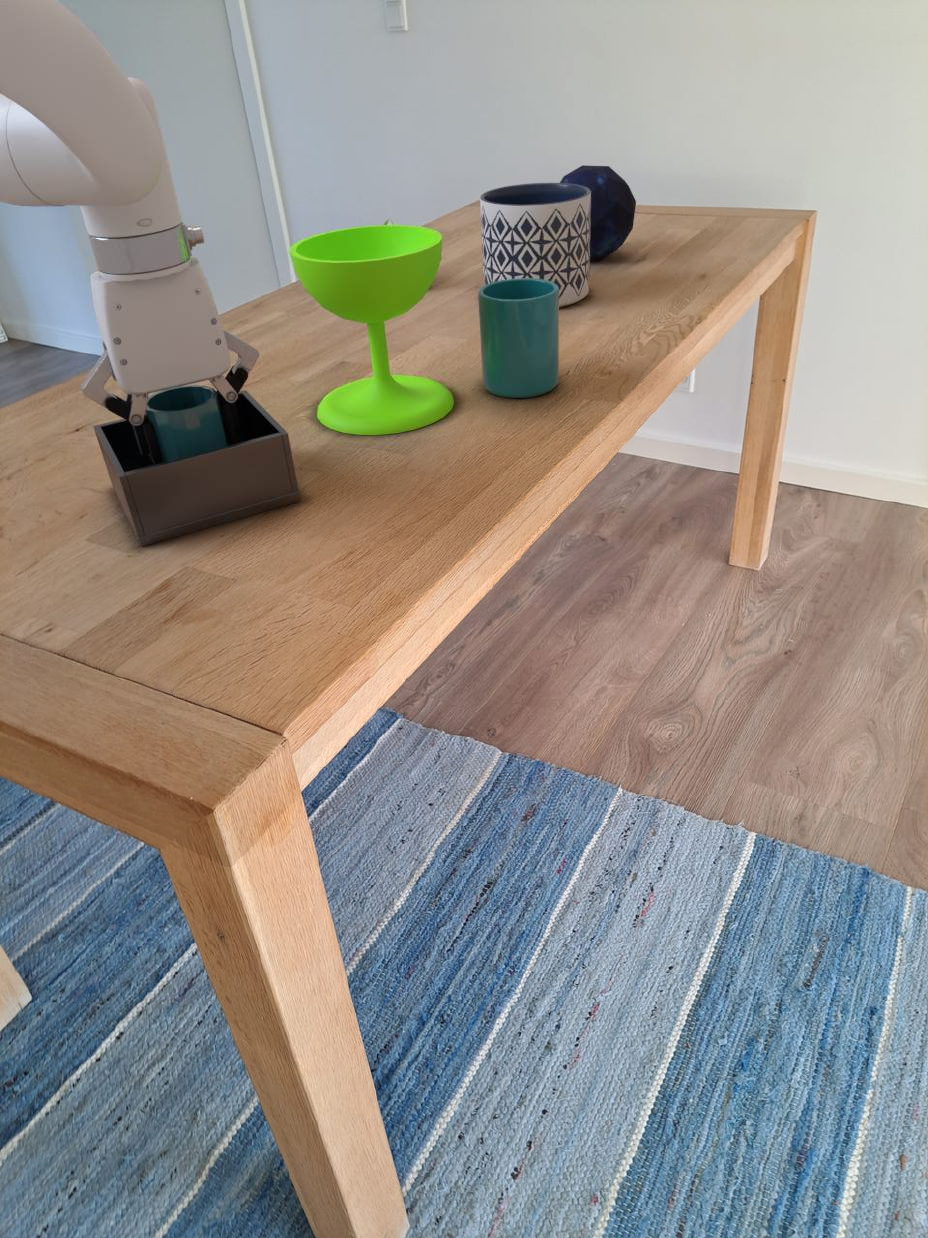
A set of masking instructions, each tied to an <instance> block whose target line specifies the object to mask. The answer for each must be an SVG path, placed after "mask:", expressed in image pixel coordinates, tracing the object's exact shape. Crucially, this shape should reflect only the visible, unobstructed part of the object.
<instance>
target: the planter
mask: <svg viewBox="0 0 928 1238" xmlns="http://www.w3.org/2000/svg"><path fill="white" fill-rule="evenodd" d="M479 205H480V208H479V209H480V227H481V229H480V230H481V251H482V252H481V253H482V270H483V273H482V274H483V286H485V285H487V284H489V283H492V282H496V281H500V280H506V279H516V278H534V279H543V280H547V281H551V282H553V283H555V284H556V285H557V286H558V287H559V308H563V307H567V306H570V305H573V304H575V303H578V302H579V301H581V300H582V299H584V298H585V297H587V295H588V294H589V292H590V267H591V265H590V263H591V260H590V219H591V191H590V189H588V188H587V187H584V186H581V185H576V184H568V183H560V182H532V183H521V184H520V183H519V184H513V185H506V186H501V187H497V188H493V189H490V190H488V191H485V192H483V193H482V194H481V195H480V196H479ZM568 300H569V301H568Z"/></svg>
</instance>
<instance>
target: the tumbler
mask: <svg viewBox="0 0 928 1238" xmlns="http://www.w3.org/2000/svg"><path fill="white" fill-rule="evenodd" d="M216 391H217V390H216V389H215V387H214V388H213V387H211V386H208V385H199V384H188V385H184V386H180V387H175V388H171V389H167V390H162V391H158V392H154V393H152V394H151V395H150V396H148V400H147V405H146V410H145V415H146V418H147V419H148V421H149V422H150V423H151V425H152V429H153V432H154V436H155V439H156V443H157V446H158V450H159V453H160V457H161V460H162V462H160V463H163V462H167V461H171V460H175V459H179V458H183V457H187V456H191V455H194V454H198V453H202V452H206V451H210V450H214V449H218V448H222V447H225V446H229V441H228V437H227V433H226V429H225V424H224V420H223V416H222V411H221V407H220V402H219V398H218V394H217V392H216Z"/></svg>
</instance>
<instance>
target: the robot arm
mask: <svg viewBox="0 0 928 1238" xmlns="http://www.w3.org/2000/svg"><path fill="white" fill-rule="evenodd" d="M0 202H1V203H4V204H8V205H12V206H21V207H36V208H37V207H38V208H39V207H66V206H78V207H79V208H80V211H81V215H82V218H83V221H84V225H85V228H86V232H87V234H88V239H89V242H90V245H91V249H92V252H93V256H94V259H95V263H96V266H97V269H98V271H95V272H92V273H91V274H90V276H89V277H90V289H91V297H92V303H93V308H94V313H95V317H96V318H95V319H96V322H97V327H98V331H99V336H100V339H101V344H102V348H103V353H102V354H101V355H100V357H99V358H98V360H97V361H96V363H95V364H94V366H93V367H92V369H91V370H90V372H89V373H88V374H87V376H86V378H85V379H84V380H83V382H82V383H81V385H80V389H81V391H82V393H83V395H84V396H85V397H86V398H88V399H90V400H91V401H93V402H94V403H96V404H98V405H99V406H102V407H103V408H105V409H107V411H109V412H111V413H112V414H114V415H116V416H118V417H120V418H121V419H125V420H127V421H129V422H130V423H131V424H132V426H133V430H134V433H135V437H136V440H137V443H138V446H139V449H140V452H141V454H142V455H145V454H148V455H149V457H150V458H151V460H152V462H153V463H154V465H156V464H160V462H162V460H161V457H160V453H159V450H158V446H157V443H156V439H155V436H154V432H153V429H152V425H151V423H150V422H149V421H148V419H147V418H146V416H145V410H146V405H147V400H148V397H149V394H154V393H158V392H160V391H163V390H167V389H171V388H175V387H180V386H188V385H194V384H196V383H201V382H205V381H209V382H210V384H211V385H212V386H213V387H214V389H215V391H216V392H217V394H218V398H219V402H220V407H221V411H222V416H223V420H224V424H225V429H226V433H227V437H228V441H229V443H230V444H231V443H232V445H233V444H237V443H238V440H237V436H236V431H240V430H241V428H240V423H239V419H238V414H237V410H236V405H235V401H236V400H237V398H238V393H239V391H242V388H243V387H244V385H245V383H246V382H247V381H248V379H249V374H250V372H251V371H252V370H253V368H254V366H255V365H256V363H257V361H258V359H259V358H260V352H259V350H258V349H256V348H255V346H252V345H251V344H250V343H248V342H246V341H244V340H242V339H241V338H239V337H237V336H236V335H234V334H233V333H231V332H229V331H228V330H226V329H224V328H223V325H222V321H221V318H220V314H219V311H218V308H217V305H216V302H215V299H214V296H213V293H212V290H211V287H210V285H209V282H208V279H207V277H206V274H205V273H204V270H203V267H202V265H201V263H200V261H199V259H198V258H197V257H195V256H193V255H192V251H193V247H196V246H197V245H200V244H204V243H205V238H204V233H203V230H202V227H200V226H193V227H192V226H190V225H186V224H185V222H183V220H182V216H181V212H180V207H179V206H180V205H179V202H178V198H177V193H176V189H175V186H174V181H173V176H172V172H171V167H170V164H169V158H168V155H167V151H166V146H165V141H164V137H163V133H162V129H161V125H160V120H159V116H158V111H157V107H156V104H155V100H154V96H153V95H152V92H151V90H150V89H149V87H148V86H147V85H146V83H144V82H143V81H142V80H141V79H139V78H135V77H131V76H126V74H125V73H124V72H123V71H122V69H121V68H120V66H119V65H118V64H117V63H116V61H115V60H114V58H113V57H112V56H111V55H110V53H109V52H108V51H107V49H106V48H105V47H104V46H103V45H102V43H101V42H100V41H99V39H98V38H97V37H96V36H95V35H94V34H93V33H92V31H91V30H90V29H89V28H88V27H87V26H86V25H85V24H84V23H83V22H82V21H81V19H79V18H78V17H77V16H76V15H75V14H74V13H73V12H71V10H69V9H68V8H67V7H65V6H64V5H63V4H62V3H61V2H60V1H59V0H0ZM230 351H232V352H234V353H235V354H237V358H236V360H235V363H234V365H232V366H231V363H232V362H231V355H230ZM226 373H227V374H226ZM225 374H226V376H224V375H225ZM111 377H112V378H113V380H114V381H115V382H117V384H118V387H119V388H120V390H121V391H122V392H123V393H124V394H125V399H123V398H121V397H119V396H118V395H116V394H114V393H111V392H110V391H108V390H107V389H105V388H104V387H105V385H106V383H107V382H108V380H109V379H110V378H111Z"/></svg>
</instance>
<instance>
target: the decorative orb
mask: <svg viewBox="0 0 928 1238" xmlns="http://www.w3.org/2000/svg"><path fill="white" fill-rule="evenodd" d="M559 183H568V184H576V185H581V186H584V187H587V188H588V189H590V191H591V219H590V261H593V262H594V261H595V262H600V261H602V260H604V259H606V258H607V257H609V256H610V255H612V254H614V253H615V252H616V251H618V250H619V249H620V248H621V247H622V246H623V245H624V243H625V242H626V240H627V239H628V237H629V235H630V234H631V232H632V230H633V228H634V222H635V214H636V207H637V206H636V205H637V200H636V198H635V196H634V194H633V192H632V189H631V187H630V186H629V184H628V183H627V182H626V180H625V179H624V178H623V177H621V176H620V174H618V173H617V172H616V171H615V170H614V169H612V167H610V166H609V165H583V164H582V165H581V166H579V167H577V168H575V169H574V170H572V171H570V172H568V173H567V174H565V175H563V176H562V178H561V180H560V181H559Z"/></svg>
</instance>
